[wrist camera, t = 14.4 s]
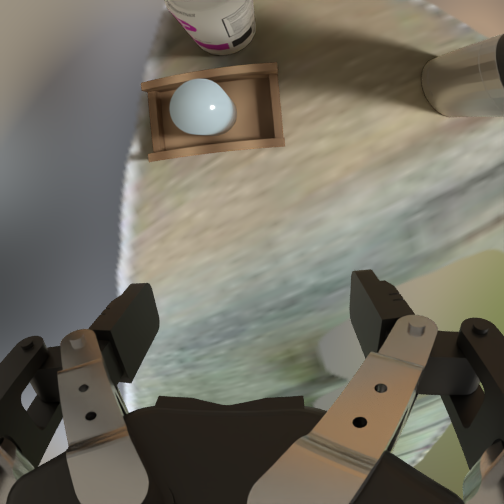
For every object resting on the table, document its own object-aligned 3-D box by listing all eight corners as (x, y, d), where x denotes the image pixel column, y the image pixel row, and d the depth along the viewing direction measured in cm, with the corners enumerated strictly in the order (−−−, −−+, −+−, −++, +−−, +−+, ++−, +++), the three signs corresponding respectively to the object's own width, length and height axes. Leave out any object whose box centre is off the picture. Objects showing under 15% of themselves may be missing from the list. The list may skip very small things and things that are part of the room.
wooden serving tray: (275, 71, 35) (277, 62, 30) (282, 145, 38) (285, 146, 33) (155, 88, 36) (140, 82, 31) (162, 158, 39) (148, 162, 35)
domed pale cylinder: (239, 94, 35) (230, 79, 26) (234, 137, 37) (224, 136, 28) (195, 92, 35) (172, 78, 26) (191, 134, 37) (167, 133, 28)
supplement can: (205, 65, 35) (171, 29, 21) (187, 17, 32) (150, -31, 18) (264, 45, 34) (261, -2, 20) (244, -2, 31) (232, -60, 17)
